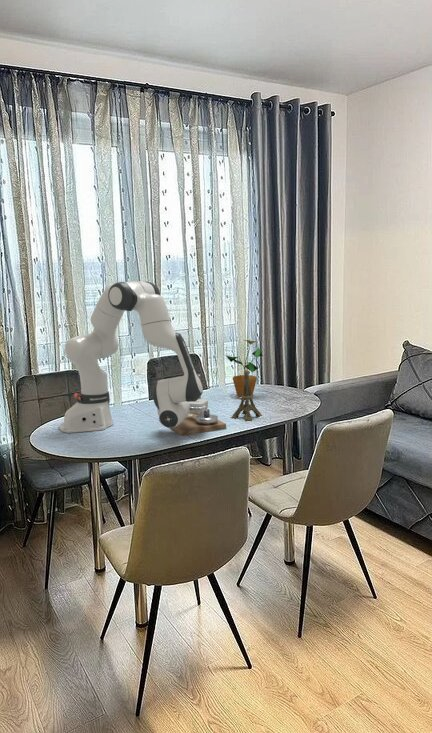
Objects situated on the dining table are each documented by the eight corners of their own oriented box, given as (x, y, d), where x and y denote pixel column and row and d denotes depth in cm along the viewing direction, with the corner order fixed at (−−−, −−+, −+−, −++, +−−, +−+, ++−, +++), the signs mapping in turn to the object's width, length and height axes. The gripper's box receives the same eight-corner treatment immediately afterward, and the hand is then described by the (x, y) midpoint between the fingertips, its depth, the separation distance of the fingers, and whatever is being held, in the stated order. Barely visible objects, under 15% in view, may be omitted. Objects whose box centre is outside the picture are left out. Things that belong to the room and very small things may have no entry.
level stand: (181, 435, 225) (180, 404, 223) (159, 420, 248) (158, 391, 245) (226, 428, 234) (225, 398, 232) (201, 414, 256) (200, 386, 254)
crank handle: (175, 416, 244) (174, 389, 242) (191, 413, 250) (191, 386, 248) (205, 426, 230) (205, 397, 228) (222, 421, 236) (221, 393, 234)
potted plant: (268, 399, 283) (268, 339, 278) (232, 402, 279) (232, 341, 273) (256, 391, 300) (256, 335, 295) (222, 394, 296) (221, 336, 290)
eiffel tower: (244, 413, 258) (244, 358, 254) (263, 416, 251) (263, 361, 247) (230, 418, 250) (229, 362, 246) (249, 422, 244) (249, 364, 239)
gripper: (204, 401, 221) (211, 393, 234) (153, 400, 224) (162, 392, 238) (204, 417, 222) (211, 408, 235) (154, 415, 225) (163, 407, 239)
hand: (186, 400), depth 236 cm, fingers closed
